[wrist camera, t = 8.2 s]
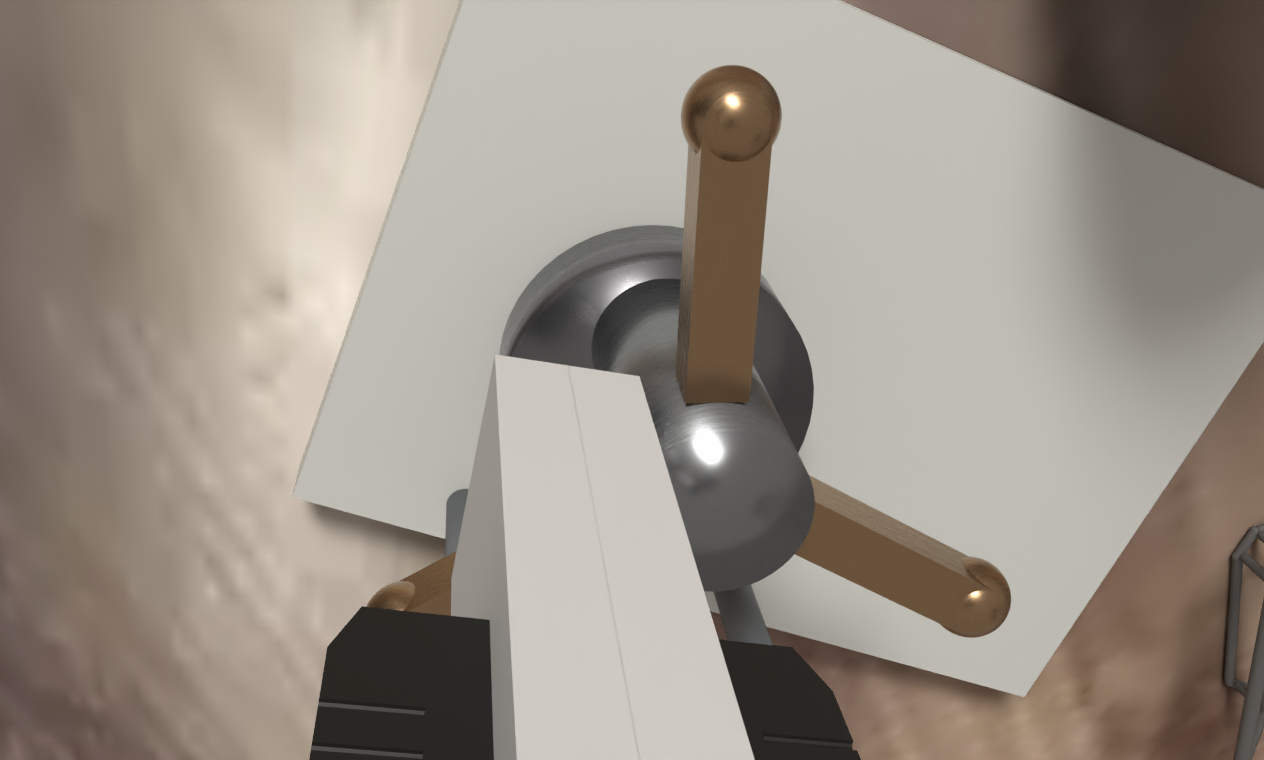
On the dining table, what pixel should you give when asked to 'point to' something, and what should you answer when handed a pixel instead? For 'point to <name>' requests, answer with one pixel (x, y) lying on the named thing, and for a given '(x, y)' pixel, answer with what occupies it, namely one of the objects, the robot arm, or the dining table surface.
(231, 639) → the dining table surface
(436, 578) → the capstan
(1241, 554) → the geometric lantern
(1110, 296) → the white base plate
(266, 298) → the dining table surface
